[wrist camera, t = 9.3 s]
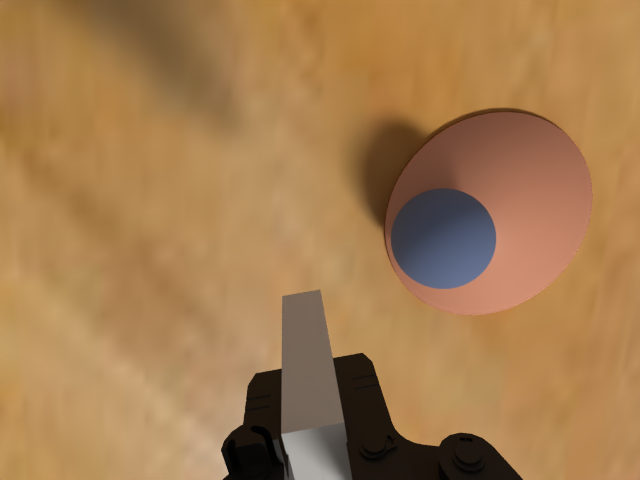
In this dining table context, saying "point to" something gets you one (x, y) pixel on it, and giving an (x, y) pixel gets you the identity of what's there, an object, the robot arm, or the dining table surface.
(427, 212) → the ball
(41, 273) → the dining table surface
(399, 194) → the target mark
